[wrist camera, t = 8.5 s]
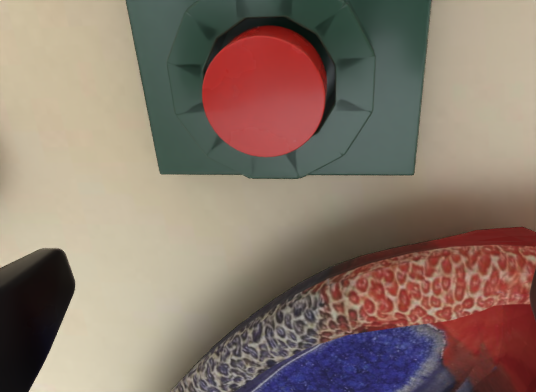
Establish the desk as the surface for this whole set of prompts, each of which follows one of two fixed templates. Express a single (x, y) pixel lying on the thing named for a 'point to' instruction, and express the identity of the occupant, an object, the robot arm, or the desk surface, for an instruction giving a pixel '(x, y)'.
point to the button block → (337, 72)
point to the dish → (392, 324)
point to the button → (265, 91)
